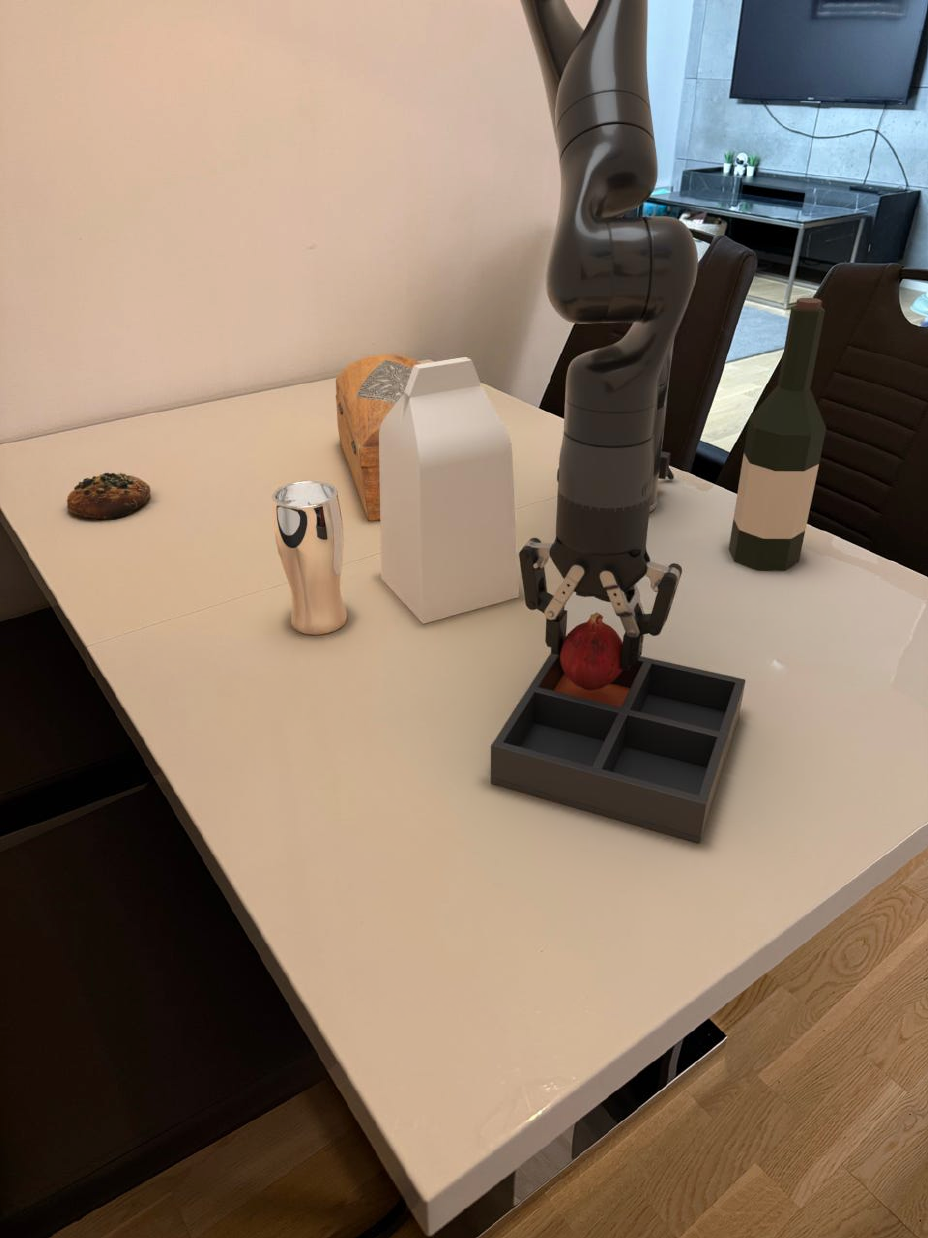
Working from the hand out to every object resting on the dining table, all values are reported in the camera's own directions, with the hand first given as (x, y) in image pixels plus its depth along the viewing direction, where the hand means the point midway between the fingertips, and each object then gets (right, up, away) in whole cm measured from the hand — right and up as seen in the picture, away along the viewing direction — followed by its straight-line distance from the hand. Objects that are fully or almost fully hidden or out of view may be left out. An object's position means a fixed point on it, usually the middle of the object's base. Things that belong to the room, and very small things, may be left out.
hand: (591, 657), depth 83 cm
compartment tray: (+2, -8, -2) cm, 8 cm away
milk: (-13, +7, +23) cm, 27 cm away
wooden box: (-20, +25, +52) cm, 61 cm away
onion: (0, -3, +2) cm, 4 cm away
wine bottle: (+25, +11, +29) cm, 40 cm away
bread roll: (-61, +19, +44) cm, 77 cm away
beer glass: (-27, +3, +17) cm, 33 cm away
